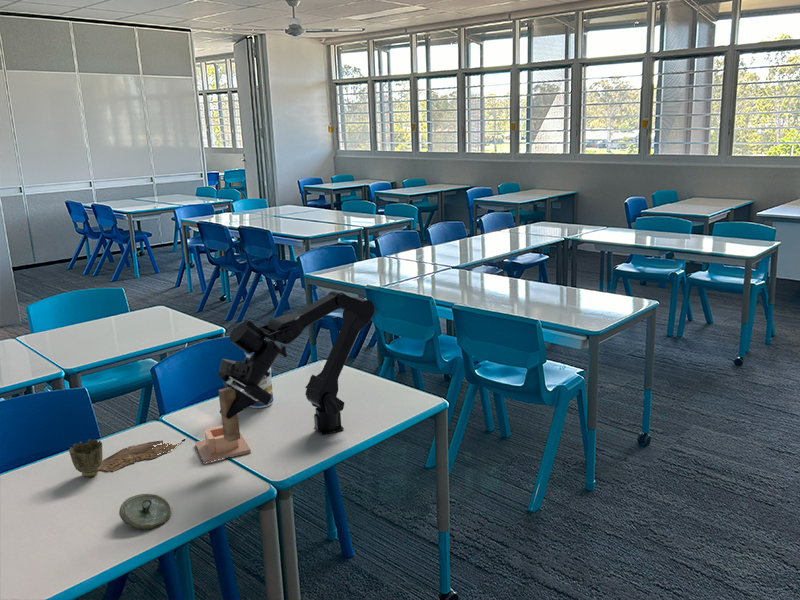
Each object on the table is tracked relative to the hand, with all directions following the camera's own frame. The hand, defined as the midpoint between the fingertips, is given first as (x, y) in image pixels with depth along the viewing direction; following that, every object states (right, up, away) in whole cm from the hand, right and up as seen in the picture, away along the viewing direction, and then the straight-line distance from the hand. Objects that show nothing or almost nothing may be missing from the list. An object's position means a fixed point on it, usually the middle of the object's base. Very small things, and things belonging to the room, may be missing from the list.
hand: (224, 415), depth 162 cm
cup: (-34, -15, +1) cm, 37 cm away
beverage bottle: (0, -4, +41) cm, 41 cm away
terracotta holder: (-4, -11, +12) cm, 17 cm away
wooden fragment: (-25, -12, +12) cm, 30 cm away
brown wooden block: (+1, -6, +2) cm, 7 cm away
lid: (-12, -19, -19) cm, 30 cm away
